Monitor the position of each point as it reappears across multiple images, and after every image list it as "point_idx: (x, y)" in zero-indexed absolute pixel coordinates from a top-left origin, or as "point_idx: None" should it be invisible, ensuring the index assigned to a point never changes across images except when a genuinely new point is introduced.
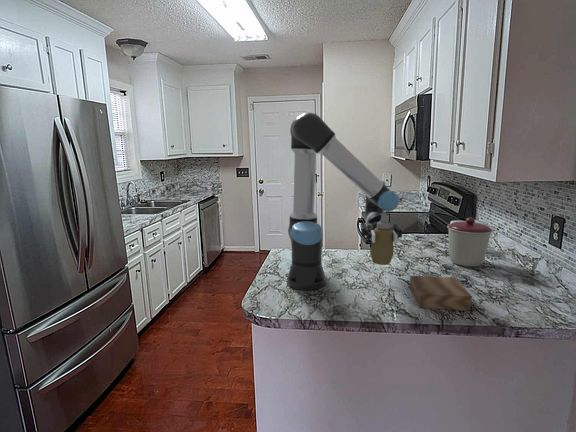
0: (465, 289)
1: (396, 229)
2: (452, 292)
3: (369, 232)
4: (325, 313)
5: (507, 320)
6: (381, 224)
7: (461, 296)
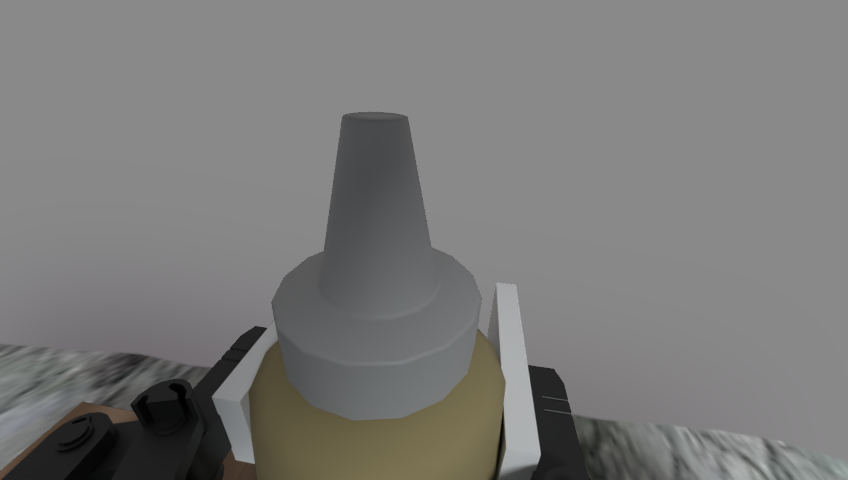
0: (4, 468)
1: (176, 381)
2: None
3: (554, 425)
4: (625, 454)
5: (82, 373)
6: (434, 250)
7: (117, 410)
